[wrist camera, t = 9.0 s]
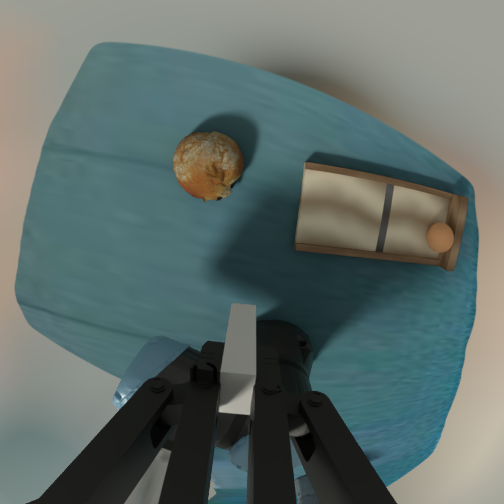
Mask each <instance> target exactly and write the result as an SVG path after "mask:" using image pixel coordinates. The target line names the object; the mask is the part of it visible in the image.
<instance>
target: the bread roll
mask: <svg viewBox="0 0 504 504" xmlns="http://www.w3.org/2000/svg"><path fill="white" fill-rule="evenodd" d="M243 163H244V162H243V156H242V154H241V151H240V148H239V146H238V145H237V143H236V142H235V141H234V140H233V139H231V138H230V137H229V136H226V135H225V134H222V133H219V132H216V131H213V132H211V133H208V132H204V133H201V132H196V133H192V134H190V135H188V136H186V137H185V138H184V139H183V140H182V141H181V142H180V143H179V145H178V147H177V148H176V151H175V154H174V157H173V167H174V171H175V174H176V177H177V180H178V182H179V183H180V185H181V186H182V187H183V189H184V190H185V191H186V192H188V193H189V194H190V195H192V196H193V197H196V198H199V199H200V198H202V199H203V200H204V202H206V201H208V200H214V199H215V200H216V201H217V200H221V199H222V198H226V197H227V196H230V194H231V193H232V191H231V190H230V189H231V188H233V186H234V182H235V181H236V180H238V178H239V177H241V172H242V170H243Z"/></svg>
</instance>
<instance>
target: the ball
mask: <svg viewBox="0 0 504 504" xmlns="http://www.w3.org/2000/svg"><path fill="white" fill-rule="evenodd" d="M427 241H428V244H429V246H430V248H431V249H432V250H434V251H435V252H439V253H443V252H446V251H448V250H449V249H450V248H451V246H452V244H453V241H454V234H453V231H452V229H451V228H450V227H449V226H448V225H447V224H445V223H435V224H434V225H432V226H431V227H430V229H429V230H428V233H427Z"/></svg>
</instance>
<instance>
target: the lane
mask: <svg viewBox="0 0 504 504" xmlns="http://www.w3.org/2000/svg"><path fill="white" fill-rule="evenodd" d="M468 200H469V198H466V197H463V196H460V195H455V194H451V193H447V192H444V191H440V190H437V189H433V188H430V187H426V186H422V185H418V184H415V183H411V182H407V181H402V180H398V179H394V178H390V177H385V176H381V175H376V174H371V173H366V172H361V171H356V170H351V169H346V168H340V167H334V166H329V165H322V164H316V163H309V162H305V163H304V171H303V180H302V188H301V196H300V204H299V212H298V220H297V227H296V234H295V242H294V248H295V250H296V251H305V252H315V253H325V254H334V255H344V256H353V257H363V258H372V259H381V260H391V261H400V262H409V263H418V264H427V265H436V266H440V267H442V268H443V269H445V270H447V271H454V268H455V264H456V260H457V256H458V252H459V248H460V244H461V239H462V234H463V229H464V224H465V219H466V213H467V207H468ZM435 223H445V224H447V225H448V226H449V227H450V228H451V229H452V231H453V234H454V241H453V244H452V246H451V248H450V249H449V250H448V251H446V252H443V253H439V252H435V251H434V250H432V249H431V248H430V246H429V244H428V241H427V233H428V230H429V229H430V227H431V226H432V225H434V224H435Z"/></svg>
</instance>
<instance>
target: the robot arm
mask: <svg viewBox="0 0 504 504" xmlns="http://www.w3.org/2000/svg"><path fill="white" fill-rule="evenodd" d="M312 363H313V350H312V347H311V343H310V340H309V338H308V337H307V335H306V334H305V333H304V332H303V331H302V330H301V329H300V328H298V327H297V326H295V325H293V324H291V323H288V322H284V321H278V320H266V321H260V322H257V323H256V305H247V304H237V303H232V305H231V311H230V317H229V323H228V329H227V335H226V341H225V343H222V342H213V341H207V342H206V343H205V344H204V345H203V346H202V349H201V352H200V351H198V350H196V349H193V348H191V347H190V345H189V344H183V343H180V342H178V341H175V340H173V339H170V338H168V337H165V336H156V337H153V338H152V339H150V340H149V341H148V342H147V343H146V344H145V345H144V346H143V348H142V349H141V350H140V352H139V353H138V354H137V356H136V357H135V359H134V360H133V362H132V363H131V365H130V366H129V368H128V369H127V371H126V373H125V374H124V376H123V378H122V380H121V381H120V383H119V386H118V387H117V390H116V393H115V394H114V396H113V400H112V402H113V404H114V405H115V406H116V408H117V409H119V411H118V412H117V413H116V414H115V416H114V417H113V418H112V419H111V420H110V421H109V422H108V423H107V424H106V426H105V427H104V428H103V429H102V430H101V431H100V432H99V433H98V434H97V435H96V436H95V438H94V439H93V440H92V441H91V442H90V443H89V444H88V445H87V447H86V448H85V449H84V450H83V451H82V452H81V453H80V454H79V455H78V456H77V457H76V459H75V460H74V461H73V462H72V463H71V464H70V465H69V466H68V467H67V468H66V469H65V471H64V472H63V473H62V474H61V475H60V476H59V477H58V478H57V479H56V480H55V481H54V483H53V484H52V485H51V486H50V487H49V488H48V489H47V490H46V491H45V492H44V494H43V495H42V496H41V497H40V498H39V499H36V500H34V501H31V502H29V503H26V504H208V496H209V488H210V480H211V472H212V464H213V456H214V448H215V446H216V447H219V448H222V449H226V450H229V457H230V460H231V462H232V464H233V465H235V466H236V467H237V468H238V469H241V470H243V471H247V472H248V475H247V504H296V494H295V484H294V474H293V468H294V467H296V466H299V465H301V464H302V465H303V468H304V470H305V472H306V474H307V476H308V479H309V481H310V483H311V485H312V487H313V489H314V491H315V494H316V496H317V498H318V500H319V502H320V504H397V503H396V501H395V500H394V498H393V497H392V496H391V494H390V492H389V491H388V490H387V488H386V486H385V485H384V483H383V482H382V480H381V479H380V477H379V476H378V474H377V473H376V471H375V469H374V468H373V466H372V465H371V463H370V462H369V460H368V459H367V457H366V456H365V454H364V453H363V451H362V449H361V448H360V446H359V445H358V443H357V442H356V440H355V439H354V437H353V435H352V434H351V432H350V431H349V429H348V428H347V426H346V424H345V423H344V421H343V420H342V418H341V417H340V415H339V414H338V412H337V410H336V409H335V407H334V406H333V404H332V402H331V401H330V399H329V398H328V397H327V396H326V395H325V394H323V393H321V392H318V391H312V389H311V385H310V381H309V376H310V372H311V368H312Z"/></svg>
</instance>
